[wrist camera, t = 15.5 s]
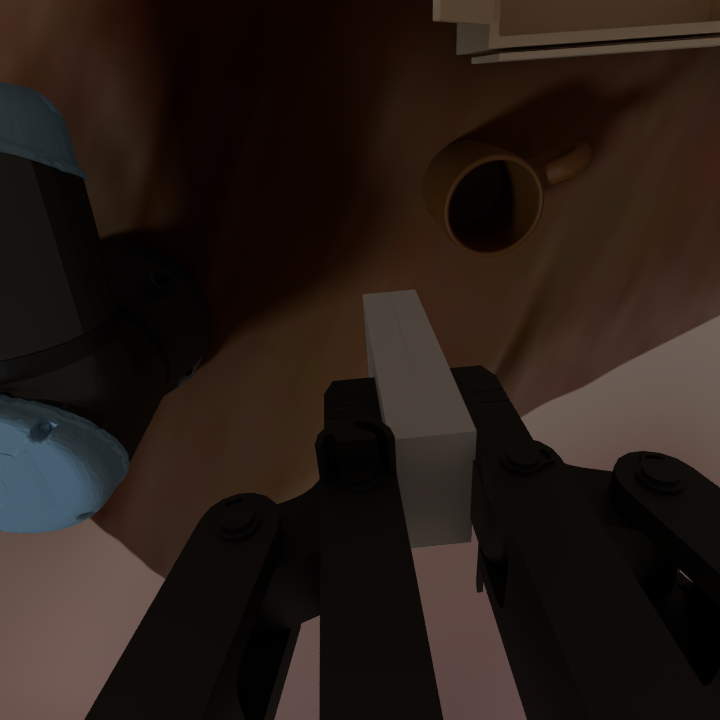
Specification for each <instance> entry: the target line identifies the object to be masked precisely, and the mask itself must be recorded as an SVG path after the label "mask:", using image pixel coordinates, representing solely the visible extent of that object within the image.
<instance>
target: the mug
mask: <svg viewBox="0 0 720 720" xmlns="http://www.w3.org/2000/svg"><path fill="white" fill-rule="evenodd" d="M592 158H593V153H592V148H591V146H590V145H588V144H587V143H585V142H581V141H573V142H567V143H563V144H559V145H556V146H553V147H550V148H548V149H546V150H543V151H541V152H539V153H537V154H535V155H533V156H530V157H528V158H525V159H522V158H521V157H520V156H518V155H517V154H515V153H513V152H511V151H508V150H506V149H503V148H501V147H498V146H495V145H492V144H489V143H486V142H483V141H479V140H463V141H459V142H455V143H453V144H451V145H449V146H447V147H446V148H444V149H443V150H442V151H441V152H439V153H438V154H437V155H436V156H435V158H434V159H433V160H432V162H431V163H430V165H429V167H428V169H427V171H426V174H425V178H424V183H423V196H424V201H425V204H426V207H427V209H428V211H429V213H430V214H431V216H432V217H433V218H434V220H435V221H436V223H437V224H438V225H439V227H440V228H441V229H442V231H443V232H444V233H445V234H446V236H447V237H448V238H449V239H450V240H451V241H452V242H453V243H454V244H456V245H457V246H458V247H460V248H461V249H462V250H464V251H465V252H467V253H470V254H472V255H476V256H481V257H492V256H498V255H502V254H505V253H507V252H509V251H511V250H513V249H515V248H516V247H518V246H519V245H521V244H522V243H523V242H524V241H525V240H526V239H527V238H528V237H529V236H530V235H531V234H532V232H533V231H534V229H535V228H536V226H537V224H538V222H539V220H540V217H541V214H542V211H543V205H544V189H543V188H545V187H548V186H550V185H553V184H556V183H559V182H561V181H564V180H567V179H569V178H571V177H573V176H575V175H577V174H578V173H580V172H581V171H583V170H584V169H586V168H587V166H588V165H589V164H590V163H591V161H592Z"/></svg>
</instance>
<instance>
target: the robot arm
mask: <svg viewBox="0 0 720 720" xmlns="http://www.w3.org/2000/svg"><path fill="white" fill-rule="evenodd" d="M85 180H87V178H86V174H85V172H84V170H83V169H81V168H80V167H79V164H78V161H77V158H76V155H75V152H74V149H73V145H72V142H71V139H70V136H69V133H68V130H67V127H66V123H65V121H64V119H63V117H62V115H61V113H60V111H59V110H58V109H57V107H56V106H55V105H54V104H53V103H52V102H51V101H50V100H49V99H47V98H46V97H45V96H43V95H42V94H40V93H38V92H37V91H34V90H32V89H29V88H27V87H23V86H19V85H15V84H10V83H5V82H0V531H5V532H14V533H41V532H49V531H55V530H59V529H63V528H67V527H70V526H73V525H76V524H78V523H80V522H82V521H84V520H86V519H88V518H89V517H91V516H92V515H93V514H94V513H95V512H97V511H98V510H99V509H100V508H101V507H102V506H103V505H104V504H105V503H106V502H107V500H108V499H109V497H110V496H111V494H112V493H113V491H114V490H115V488H116V487H117V485H118V484H119V482H121V481H122V480H123V479H124V478H125V476H126V474H127V472H128V469H129V468H130V467H129V466H128V465H129V464H130V461H131V459H132V457H133V455H134V453H135V451H136V449H137V447H138V445H139V443H140V441H141V439H142V437H143V435H144V433H145V431H146V429H147V428H148V426H149V424H150V422H151V420H152V418H153V416H154V414H155V412H156V410H157V408H158V406H159V404H160V402H161V400H162V398H163V396H165V395H166V394H168V393H169V392H171V391H173V390H174V389H176V388H177V387H179V386H180V385H182V384H183V383H184V382H186V381H187V380H188V379H189V378H190V377H191V376H192V375H193V374H194V373H195V372H196V371H197V369H198V368H199V367H200V365H201V363H202V361H203V359H204V357H205V355H206V353H207V350H208V348H209V345H210V342H211V337H212V318H211V312H210V309H209V306H208V303H207V301H206V298H205V296H204V294H203V293H202V291H201V289H200V288H199V286H198V285H197V283H196V282H195V281H194V280H193V278H192V277H191V276H190V275H189V274H188V273H187V272H186V271H185V270H184V269H183V268H182V267H180V266H179V265H178V264H176V263H175V262H174V261H172V260H171V259H169V258H168V257H166V256H164V255H162V254H160V253H158V252H156V251H154V250H151V249H149V248H146V247H142V246H139V245H134V244H129V243H115V242H114V243H102V244H101V242H100V238H99V235H98V231H97V227H96V224H95V220H94V216H93V212H92V209H91V205H90V201H89V198H88V194H87V190H86V187H85V183H84V181H85ZM363 306H364V319H365V332H366V345H367V357H368V370H369V378H360V379H350V380H340V381H333V382H332V383H331V385H330V386H329V388H328V389H327V391H326V392H325V394H324V429H323V430H322V431H321V432H320V433H319V434H318V437H317V440H316V443H315V449H316V455H317V462H318V468H319V475H320V479H319V481H318V482H317V483H316V484H315V485H314V486H313V487H312V488H311V489H309V490H308V491H307V492H305V493H304V494H302V495H300V496H298V497H296V498H293V499H291V500H288V501H285V502H283V503H280V504H277V505H276V503H275V502H273V501H272V500H271V499H270V498H268V497H267V496H264V495H260V494H256V493H243V494H236V495H234V496H231V497H228V498H225V499H223V500H221V501H220V502H218V503H217V504H215V505H214V506H212V507H211V508H209V510H208V511H207V512H206V513H205V514H204V516H203V517H202V518H201V519H200V521H199V523H198V524H197V526H196V528H195V529H194V531H193V533H192V535H191V536H190V538H189V540H188V542H187V543H186V545H185V547H184V548H183V550H182V552H181V554H180V555H179V557H178V559H177V561H176V562H175V564H174V566H173V567H172V569H171V571H170V573H169V574H168V576H167V578H166V580H165V581H164V583H163V585H162V586H161V588H160V590H159V592H158V593H157V595H156V597H155V599H154V600H153V602H152V604H151V606H150V607H149V609H148V611H147V612H146V614H145V616H144V618H143V619H142V621H141V623H140V625H139V626H138V628H137V630H136V631H135V633H134V635H133V637H132V638H131V640H130V642H129V643H128V645H127V647H126V649H125V651H124V652H123V654H122V656H121V657H120V659H119V661H118V662H117V664H116V666H115V668H114V670H113V671H112V673H111V675H110V676H109V678H108V680H107V682H106V683H105V685H104V687H103V688H102V690H101V692H100V694H99V695H98V697H97V699H96V700H95V702H94V704H93V706H92V708H91V709H90V711H89V713H88V714H87V716H86V718H85V720H274V718H275V715H276V711H277V708H278V704H279V701H280V697H281V694H282V690H283V687H284V683H285V680H286V677H287V673H288V669H289V666H290V663H291V659H292V656H293V652H294V649H295V645H296V642H297V638H298V635H299V631H300V628H301V623H303V622H305V621H307V620H310V619H312V618H314V617H317V616H319V615H320V720H443V716H442V710H441V705H440V700H439V694H438V689H437V684H436V679H435V673H434V668H433V663H432V657H431V652H430V647H429V642H428V636H427V631H426V626H425V620H424V616H423V610H422V605H421V600H420V594H419V589H418V584H417V579H416V573H415V568H414V562H413V557H412V552H411V548H415V547H425V546H435V545H445V544H455V543H464V542H471V535H472V525H473V528H474V531H475V534H476V536H477V540H478V543H479V544H478V560H477V576H476V586H477V592H483V582H484V585H485V588H486V591H487V594H488V597H489V601H490V604H491V607H492V610H493V613H494V616H495V620H496V623H497V626H498V629H499V632H500V635H501V639H502V642H503V645H504V648H505V651H506V655H507V658H508V661H509V664H510V667H511V670H512V674H513V677H514V680H515V683H516V686H517V689H518V693H519V696H520V699H521V702H522V705H523V709H524V712H525V715H526V718H527V720H720V488H719V487H718V486H717V485H715V484H714V483H713V482H711V481H710V480H709V479H707V478H706V477H704V476H703V475H702V474H701V473H699V472H698V471H697V470H695V469H694V468H692V467H691V466H689V465H687V464H686V463H684V462H682V461H680V460H679V459H677V458H674V457H671V456H668V455H664V454H661V453H656V452H647V451H639V452H631V453H628V454H626V455H624V456H622V457H620V458H618V460H617V462H616V464H615V466H614V469H613V471H605V470H597V469H589V468H582V467H576V466H572V465H568V464H565V463H564V462H563V461H562V459H561V458H560V456H559V455H558V454H557V453H556V452H555V451H554V450H553V449H552V448H550V447H548V446H547V445H545V444H543V443H541V442H539V441H535V440H533V439H532V437H531V435H530V434H529V432H528V430H527V428H526V427H525V425H524V423H523V422H522V420H521V418H520V416H519V415H518V413H517V411H516V410H515V408H514V406H513V404H512V403H511V402H510V399H509V398H508V396H507V394H506V392H505V391H503V387H502V386H501V384H500V382H499V380H498V379H497V377H496V375H494V374H493V373H491V372H490V371H488V370H487V369H485V368H484V367H482V366H481V365H478V366H468V367H458V368H449V366H448V364H447V362H446V359H445V357H444V355H443V353H442V350H441V348H440V346H439V343H438V341H437V339H436V337H435V334H434V332H433V330H432V327H431V325H430V323H429V321H428V318H427V316H426V314H425V311H424V309H423V307H422V304H421V302H420V300H419V298H418V295H417V293H416V291H415V290H406V291H395V292H384V293H374V294H363ZM680 570H681V571H682V572H683V573H684V574H685V575H686V576H687V577H688V578H690V580H692V582H691V581H690V580H689V579H687V578H686V577H685V576H684V575H683V574H681V573H680V572H679V571H680Z"/></svg>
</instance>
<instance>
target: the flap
mask: <svg viewBox="0 0 720 720" xmlns="http://www.w3.org/2000/svg"><path fill="white" fill-rule="evenodd" d="M494 7H495V0H433V21H439V22H451V23H463V24H476V25H493V24H494Z"/></svg>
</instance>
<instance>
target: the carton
mask: <svg viewBox="0 0 720 720" xmlns="http://www.w3.org/2000/svg"><path fill="white" fill-rule="evenodd" d="M711 36H720V0H495V7H494V24H493V25H476V24H463V23H457V40H456V55H465V54H479V53H493V52H507V51H521V50H534V49H548V48H562V47H576V46H590V45H604V44H617V43H631V42H645V41H659V40H673V39H687V38H700V37H711ZM712 46H720V38H707V39H693V40H679V41H666V42H652V43H638V44H624V45H610V46H596V47H583V48H569V49H555V50H541V51H527V52H513V53H500V54H493V55H487V56H481V57H475V58H472V64H479V63H493V62H507V61H521V60H534V59H548V58H562V57H576V56H589V55H603V54H617V53H631V52H645V51H658V50H672V49H686V48H700V47H712Z"/></svg>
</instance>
